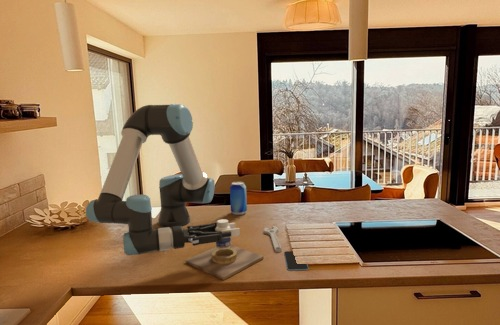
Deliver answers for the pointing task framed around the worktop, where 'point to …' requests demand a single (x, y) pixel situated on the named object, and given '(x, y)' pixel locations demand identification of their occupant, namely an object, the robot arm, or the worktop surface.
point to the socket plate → (224, 268)
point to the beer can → (238, 198)
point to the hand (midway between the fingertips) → (237, 229)
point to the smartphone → (293, 262)
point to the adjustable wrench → (273, 238)
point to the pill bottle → (225, 241)
